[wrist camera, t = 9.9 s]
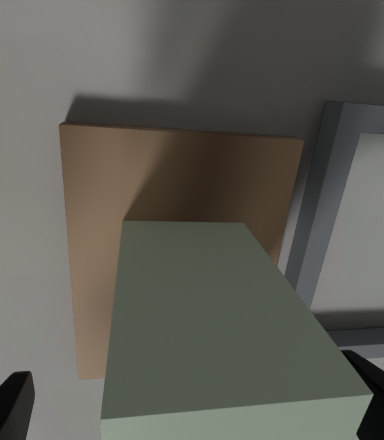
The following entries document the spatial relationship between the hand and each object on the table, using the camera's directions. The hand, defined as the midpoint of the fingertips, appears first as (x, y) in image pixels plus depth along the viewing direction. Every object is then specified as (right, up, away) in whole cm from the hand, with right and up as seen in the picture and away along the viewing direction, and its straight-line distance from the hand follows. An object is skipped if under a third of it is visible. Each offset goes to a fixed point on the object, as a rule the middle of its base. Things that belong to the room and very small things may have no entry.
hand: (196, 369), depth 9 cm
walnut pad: (-1, +2, +5) cm, 6 cm away
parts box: (-1, +2, +5) cm, 5 cm away
